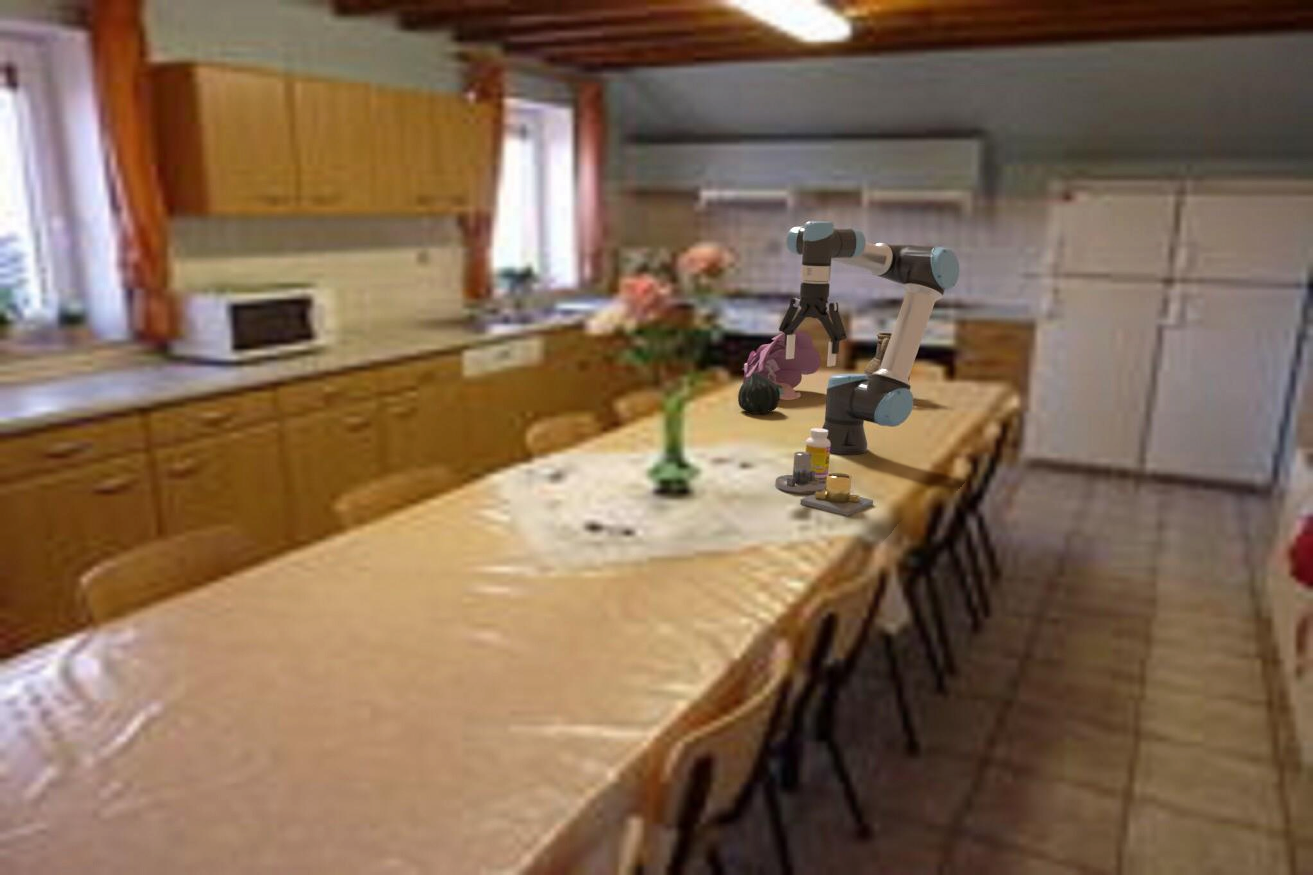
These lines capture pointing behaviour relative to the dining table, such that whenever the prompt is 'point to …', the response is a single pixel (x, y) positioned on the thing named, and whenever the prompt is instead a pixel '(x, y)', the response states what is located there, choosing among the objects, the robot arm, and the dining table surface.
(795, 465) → the post
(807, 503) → the tile
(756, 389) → the squash
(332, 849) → the dining table surface
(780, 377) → the flower arrangement
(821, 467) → the supplement bottle
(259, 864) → the dining table surface
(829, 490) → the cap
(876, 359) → the decorative pitcher
